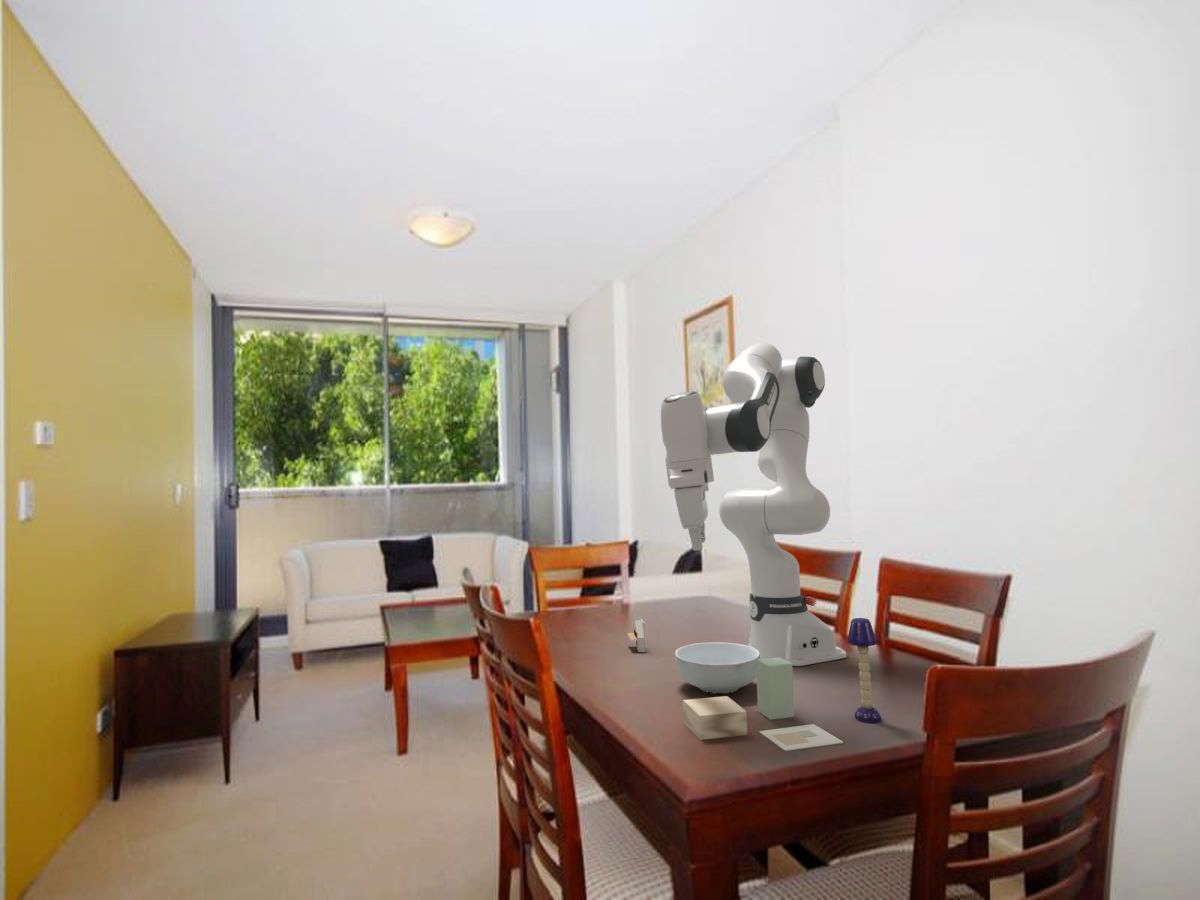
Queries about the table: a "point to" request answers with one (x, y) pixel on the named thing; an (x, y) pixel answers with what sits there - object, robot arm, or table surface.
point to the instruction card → (800, 737)
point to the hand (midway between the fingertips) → (699, 546)
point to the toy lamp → (864, 667)
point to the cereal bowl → (717, 665)
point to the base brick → (714, 717)
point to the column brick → (775, 688)
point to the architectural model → (639, 635)
